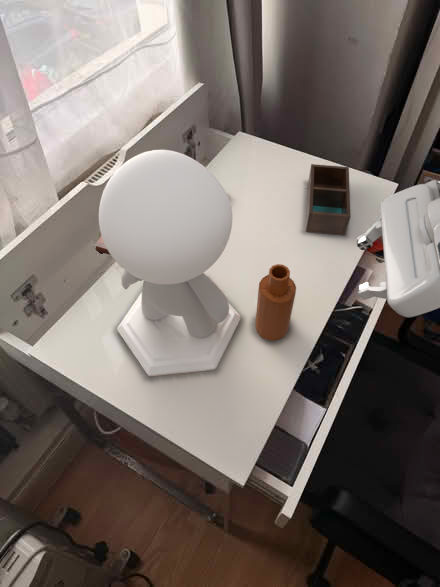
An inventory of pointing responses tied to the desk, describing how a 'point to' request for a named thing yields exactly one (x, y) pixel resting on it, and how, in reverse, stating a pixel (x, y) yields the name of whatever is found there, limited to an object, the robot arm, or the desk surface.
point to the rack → (328, 200)
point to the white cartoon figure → (170, 259)
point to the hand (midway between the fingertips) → (359, 267)
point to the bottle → (275, 303)
